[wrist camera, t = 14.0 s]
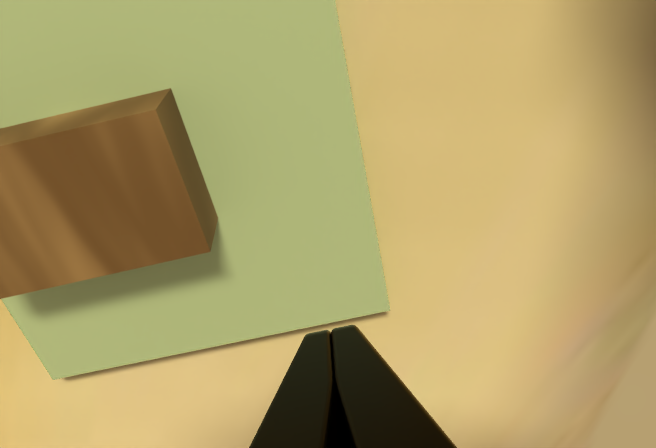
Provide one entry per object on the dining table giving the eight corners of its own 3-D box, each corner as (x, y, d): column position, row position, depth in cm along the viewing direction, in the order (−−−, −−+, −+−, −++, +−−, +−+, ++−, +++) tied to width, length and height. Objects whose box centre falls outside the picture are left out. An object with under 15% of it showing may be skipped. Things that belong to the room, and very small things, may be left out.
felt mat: (302, -171, 15) (303, -176, 14) (386, 299, 23) (390, 310, 22) (-201, -53, 15) (-223, -52, 15) (59, 366, 24) (52, 379, 23)
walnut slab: (155, 109, 15) (-107, 171, 15) (210, 252, 18) (-17, 302, 18) (170, 87, 17) (-60, 142, 18) (218, 218, 20) (15, 264, 20)
